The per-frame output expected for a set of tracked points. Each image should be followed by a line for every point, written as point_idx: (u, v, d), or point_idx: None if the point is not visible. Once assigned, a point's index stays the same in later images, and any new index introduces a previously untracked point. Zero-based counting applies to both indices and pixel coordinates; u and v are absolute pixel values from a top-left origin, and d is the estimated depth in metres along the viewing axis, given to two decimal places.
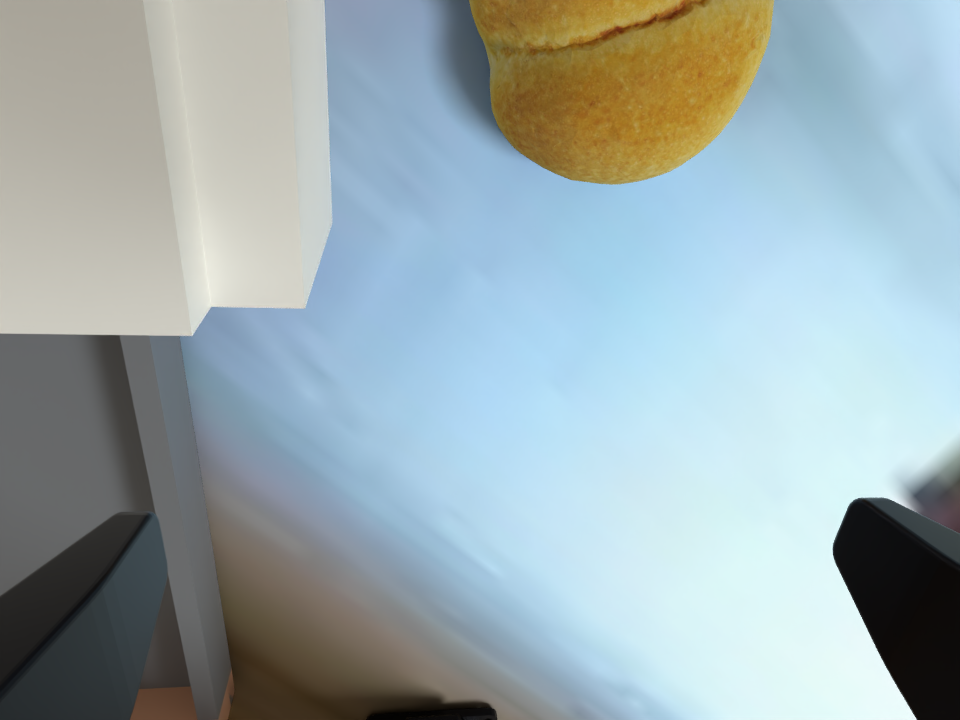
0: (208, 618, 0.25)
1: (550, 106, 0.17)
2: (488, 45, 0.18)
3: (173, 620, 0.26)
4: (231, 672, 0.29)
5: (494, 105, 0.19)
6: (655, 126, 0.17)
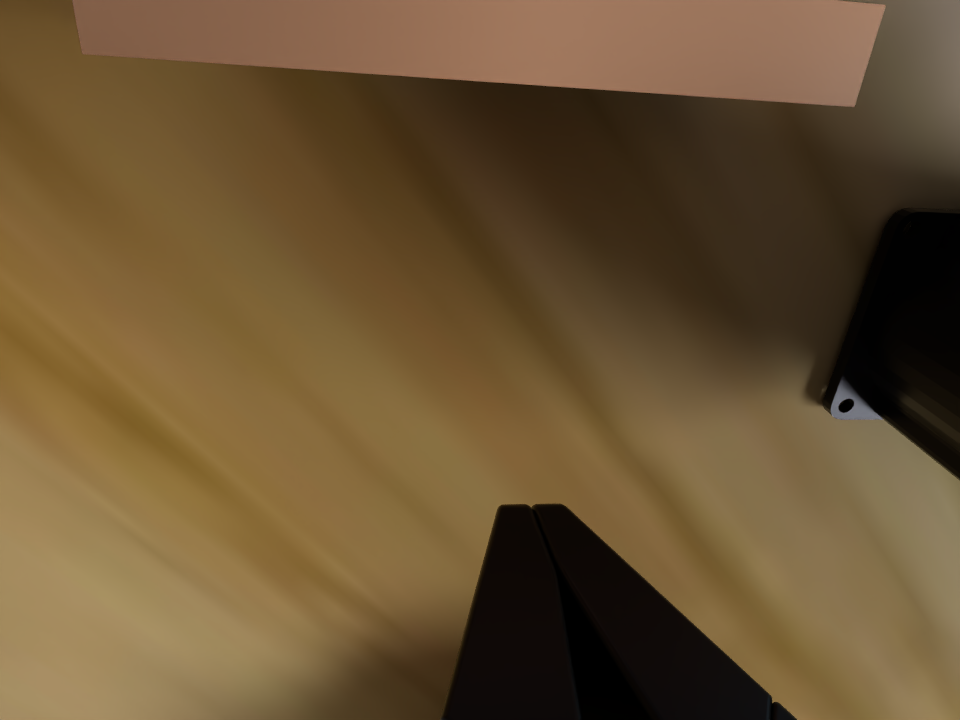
0: None
1: None
2: None
3: None
4: None
5: None
6: None
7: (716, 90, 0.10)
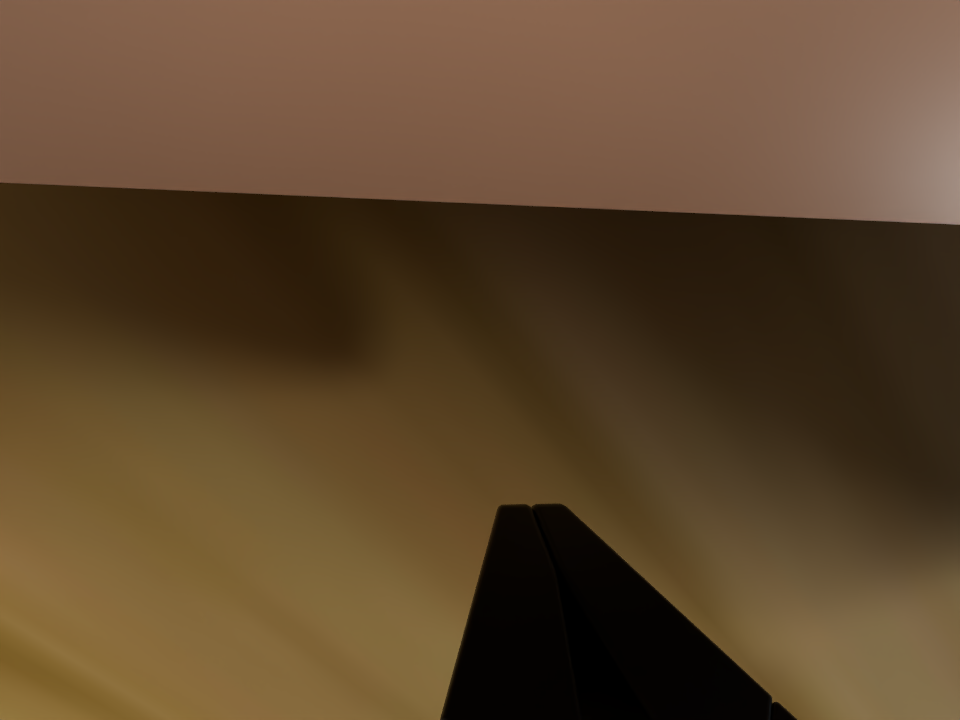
0: None
1: None
2: None
3: None
4: None
5: None
6: None
7: None
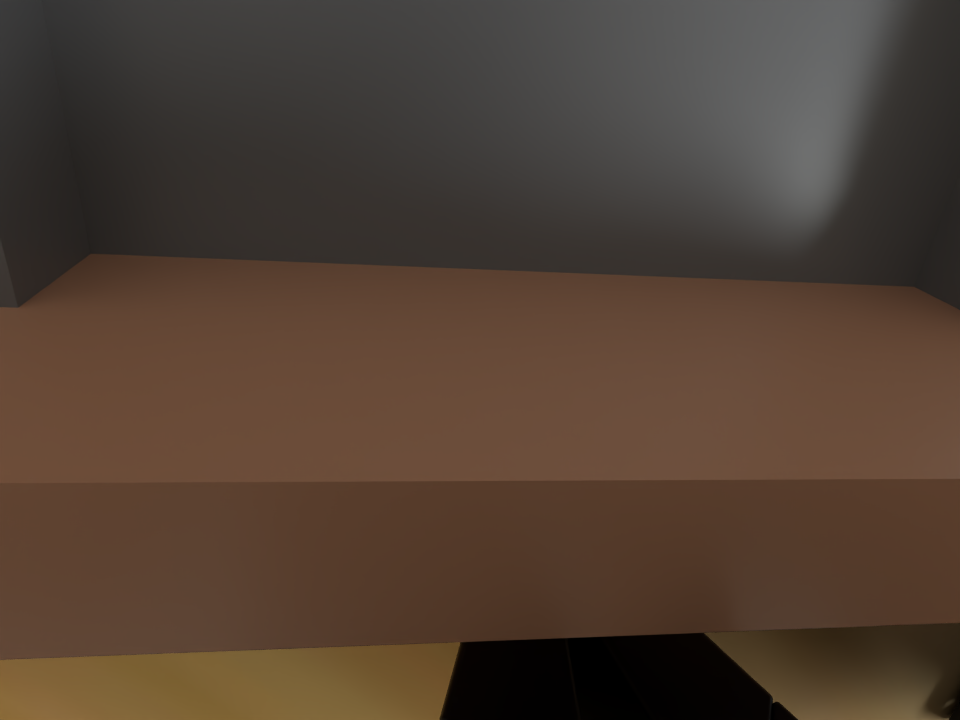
0: None
1: None
2: None
3: None
4: None
5: None
6: None
7: None
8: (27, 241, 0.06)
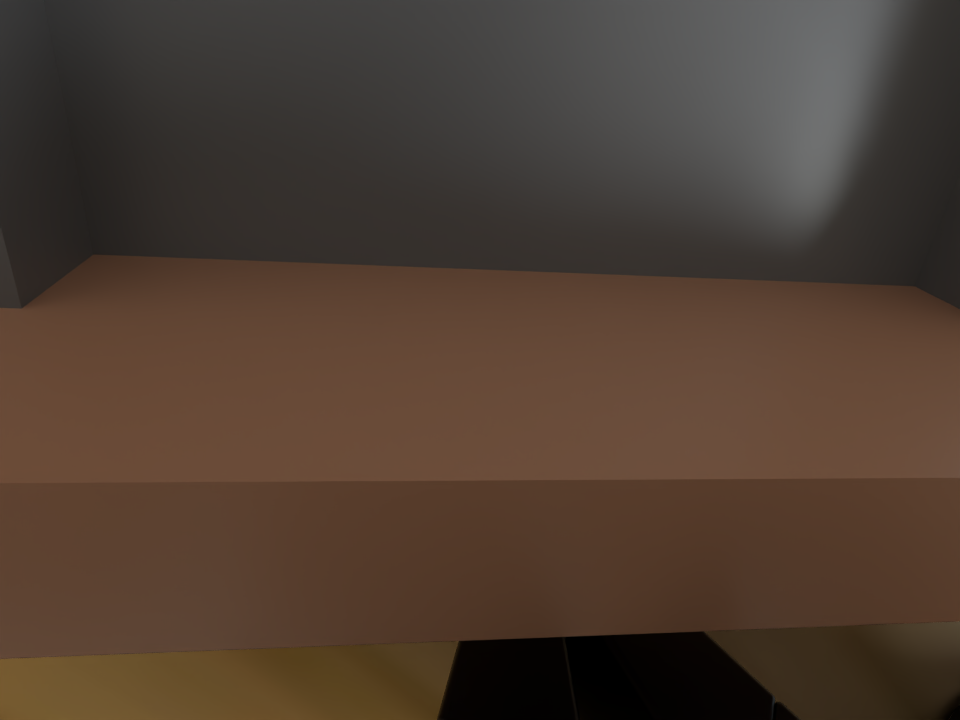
0: None
1: None
2: None
3: None
4: None
5: None
6: None
7: None
8: (30, 242, 0.06)
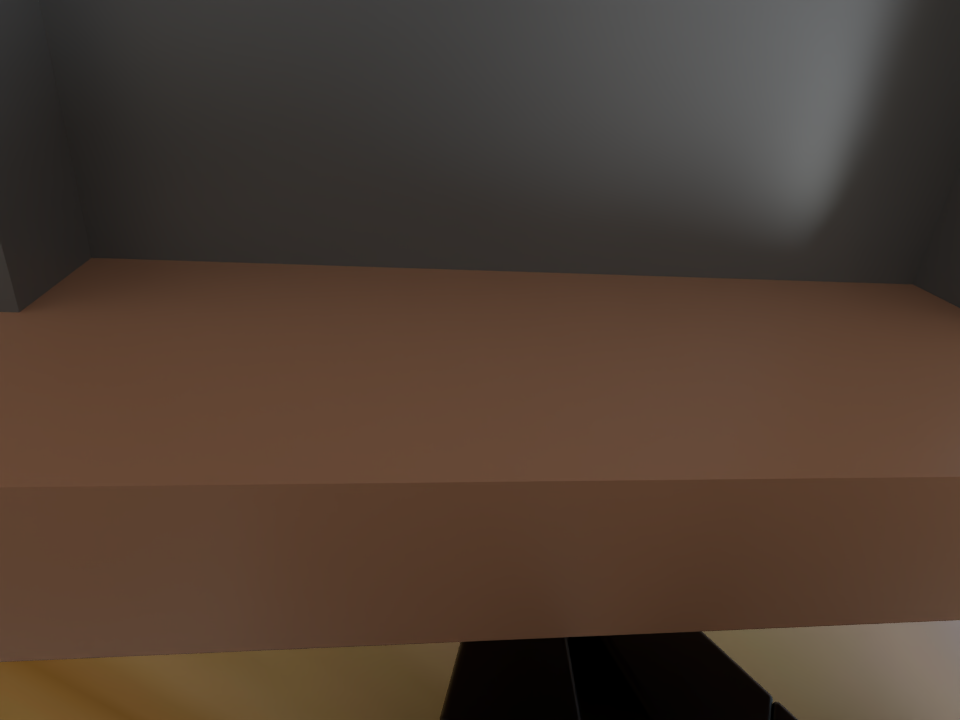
0: None
1: None
2: None
3: None
4: None
5: None
6: None
7: None
8: (28, 246, 0.06)
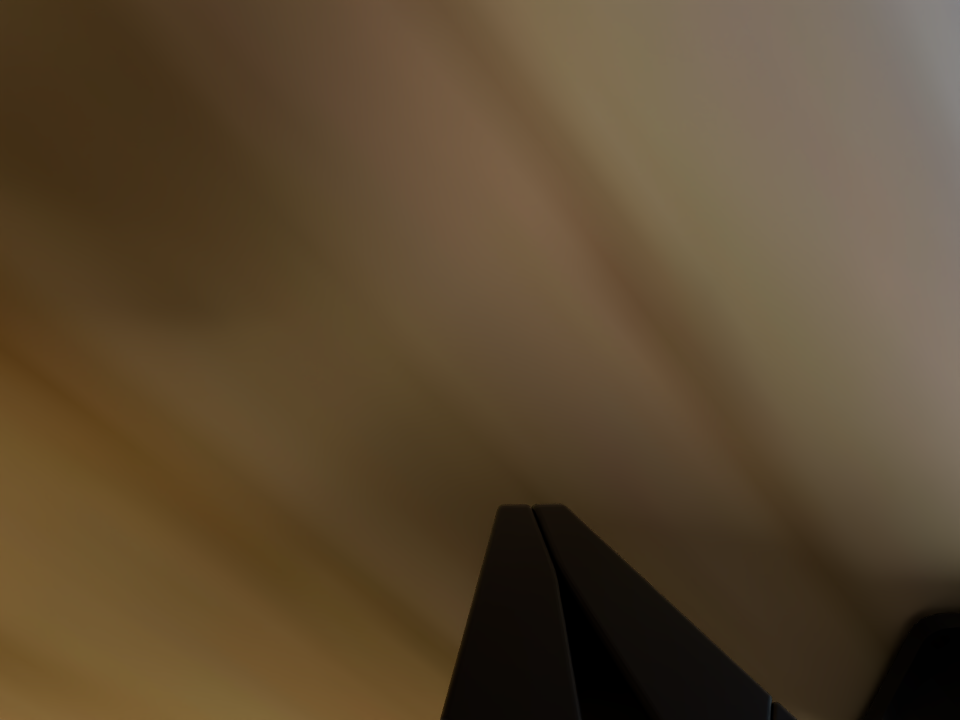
0: None
1: None
2: None
3: None
4: None
5: None
6: None
7: None
8: None
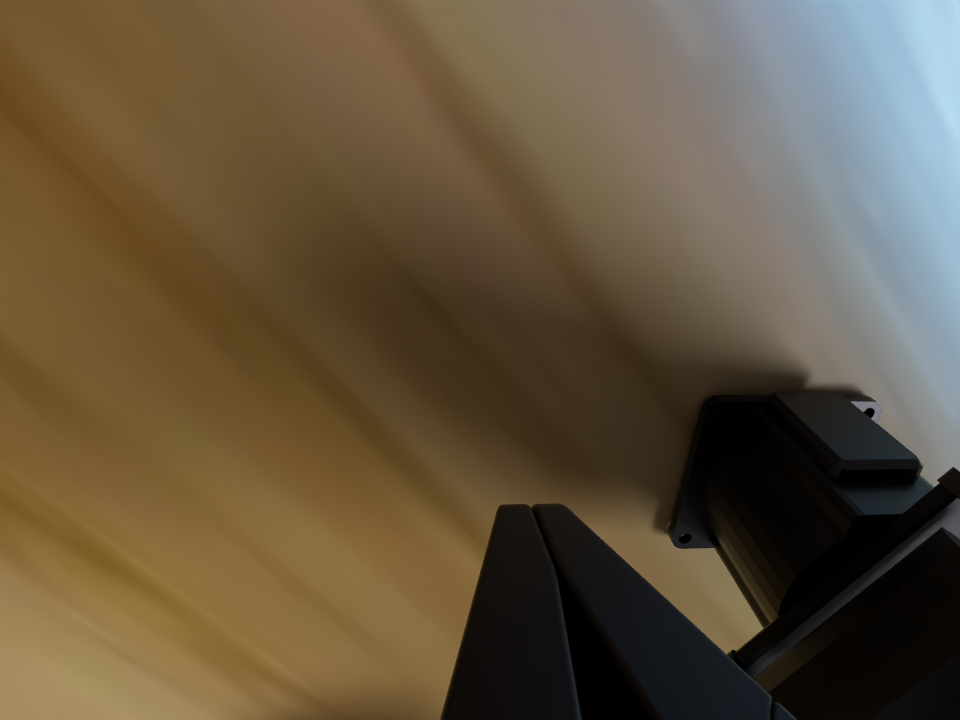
0: None
1: None
2: None
3: None
4: None
5: None
6: None
7: None
8: None
